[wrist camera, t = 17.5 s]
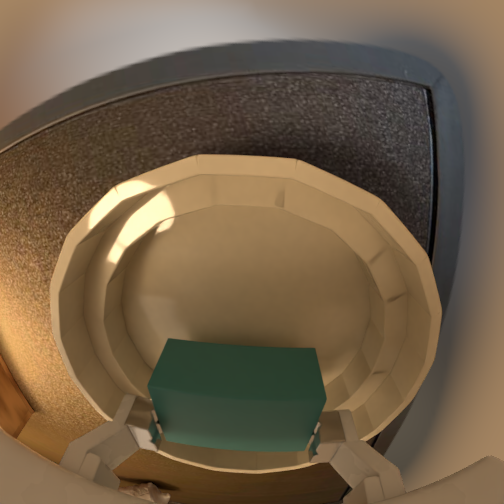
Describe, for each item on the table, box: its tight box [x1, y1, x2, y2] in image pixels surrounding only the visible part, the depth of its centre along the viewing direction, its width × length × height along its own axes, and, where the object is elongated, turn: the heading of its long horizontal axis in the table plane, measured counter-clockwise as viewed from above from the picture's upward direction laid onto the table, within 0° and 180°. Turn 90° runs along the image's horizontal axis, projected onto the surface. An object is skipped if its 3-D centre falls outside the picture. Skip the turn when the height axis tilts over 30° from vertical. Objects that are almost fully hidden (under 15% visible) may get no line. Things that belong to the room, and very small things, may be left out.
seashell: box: [118, 483, 171, 504], centre depth 20 cm, size 14×4×4 cm
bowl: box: [50, 154, 442, 473], centre depth 11 cm, size 15×15×4 cm
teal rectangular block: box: [147, 338, 327, 452], centre depth 10 cm, size 4×6×3 cm, turn 87°
